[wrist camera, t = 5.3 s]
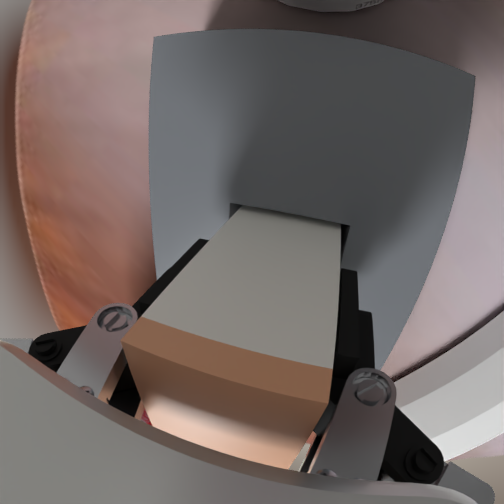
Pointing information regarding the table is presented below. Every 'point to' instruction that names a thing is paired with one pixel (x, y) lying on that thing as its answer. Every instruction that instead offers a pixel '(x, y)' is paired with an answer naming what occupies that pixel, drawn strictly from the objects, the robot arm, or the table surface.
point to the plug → (244, 338)
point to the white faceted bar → (459, 393)
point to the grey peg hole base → (310, 150)
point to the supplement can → (331, 4)
